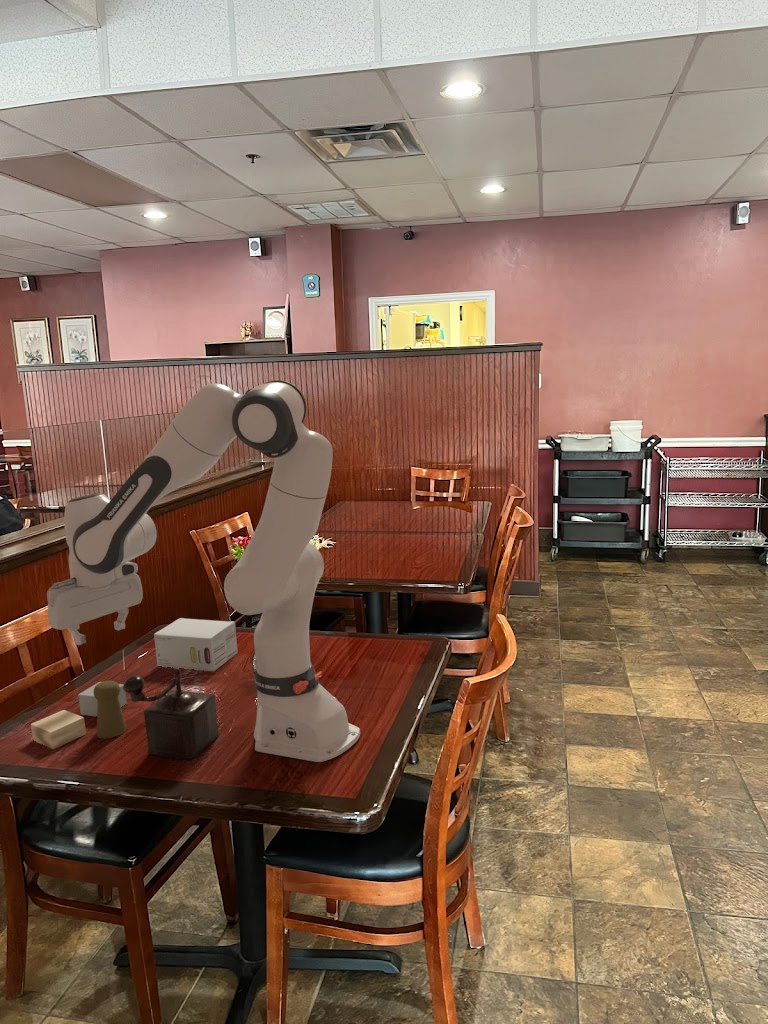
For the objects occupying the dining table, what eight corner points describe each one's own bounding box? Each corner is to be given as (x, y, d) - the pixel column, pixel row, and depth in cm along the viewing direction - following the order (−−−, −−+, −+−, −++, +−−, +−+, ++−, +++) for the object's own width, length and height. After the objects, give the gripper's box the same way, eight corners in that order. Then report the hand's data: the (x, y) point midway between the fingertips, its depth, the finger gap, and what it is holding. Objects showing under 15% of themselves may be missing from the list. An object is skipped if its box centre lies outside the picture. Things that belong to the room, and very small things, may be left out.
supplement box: (156, 667, 187) (152, 633, 186) (183, 649, 200) (180, 617, 198) (214, 672, 183) (210, 637, 181) (238, 653, 195) (235, 620, 193)
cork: (131, 724, 156) (125, 677, 154) (118, 738, 150) (112, 689, 148) (105, 724, 156) (99, 677, 154) (91, 738, 151) (84, 689, 148)
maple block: (86, 734, 153) (83, 717, 152) (53, 750, 147) (50, 732, 146) (66, 726, 157) (63, 709, 156) (33, 741, 151) (30, 724, 150)
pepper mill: (174, 729, 153) (165, 649, 149) (220, 735, 149) (212, 653, 146) (127, 768, 138) (117, 680, 135) (177, 775, 135) (167, 685, 131)
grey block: (126, 704, 166) (124, 684, 165) (106, 718, 160) (103, 697, 159) (102, 701, 168) (99, 681, 168) (80, 715, 162) (78, 694, 161)
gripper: (55, 587, 137) (64, 656, 139) (144, 562, 153) (150, 624, 156) (36, 583, 140) (45, 650, 143) (125, 559, 157) (131, 619, 160)
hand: (100, 636), depth 150 cm, fingers open, 8 cm apart
